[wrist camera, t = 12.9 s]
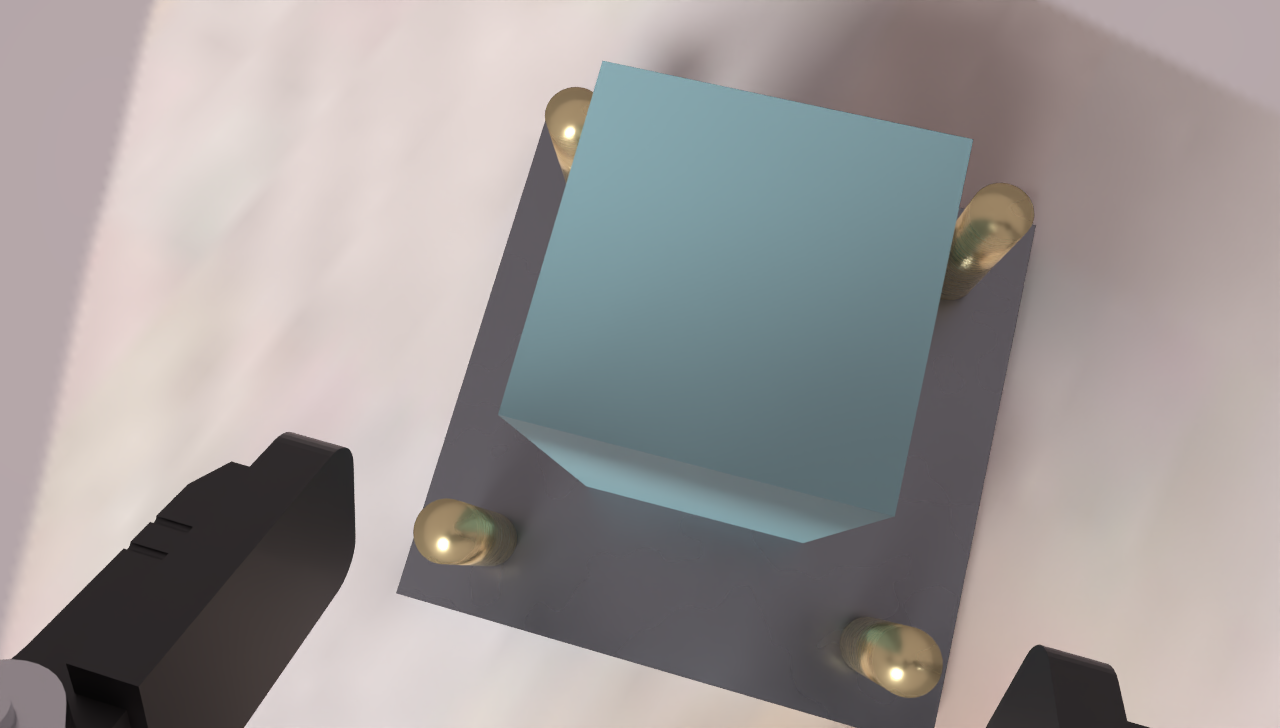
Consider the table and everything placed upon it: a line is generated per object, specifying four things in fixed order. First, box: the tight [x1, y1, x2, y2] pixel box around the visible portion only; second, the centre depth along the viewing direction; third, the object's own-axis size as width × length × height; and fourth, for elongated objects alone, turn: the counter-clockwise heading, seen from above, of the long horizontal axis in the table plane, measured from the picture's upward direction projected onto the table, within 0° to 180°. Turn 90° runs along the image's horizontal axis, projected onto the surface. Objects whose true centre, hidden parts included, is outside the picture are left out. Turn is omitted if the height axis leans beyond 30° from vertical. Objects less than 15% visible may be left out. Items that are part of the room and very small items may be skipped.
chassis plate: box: [396, 87, 1036, 728], centre depth 21 cm, size 12×12×5 cm
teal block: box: [498, 61, 973, 543], centre depth 17 cm, size 5×5×10 cm
